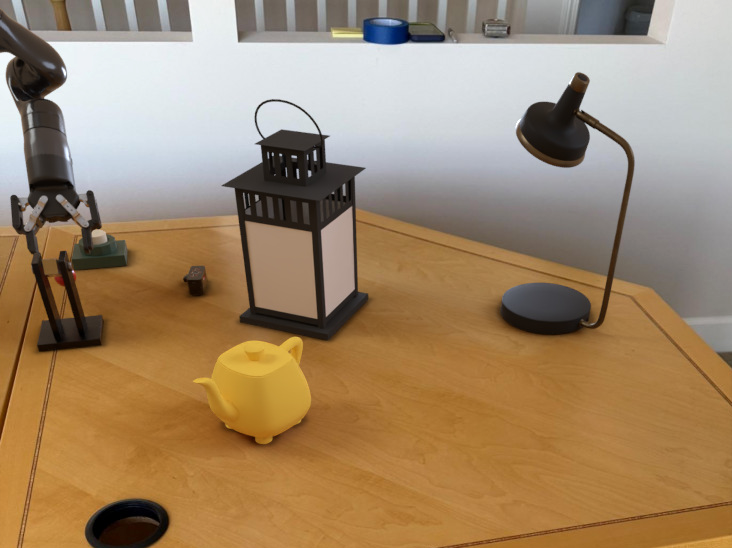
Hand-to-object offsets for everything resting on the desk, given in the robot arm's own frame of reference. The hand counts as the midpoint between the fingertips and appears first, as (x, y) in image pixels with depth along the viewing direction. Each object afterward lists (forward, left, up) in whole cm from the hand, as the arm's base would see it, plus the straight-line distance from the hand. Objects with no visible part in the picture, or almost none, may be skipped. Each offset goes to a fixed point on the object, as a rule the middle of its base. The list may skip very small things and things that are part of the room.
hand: (61, 253), depth 134 cm
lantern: (+41, -11, -10) cm, 43 cm away
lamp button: (+4, +20, -6) cm, 21 cm away
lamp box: (+4, +20, -10) cm, 23 cm away
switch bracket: (0, -12, -10) cm, 15 cm away
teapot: (+29, -46, -10) cm, 55 cm away
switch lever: (0, -8, -2) cm, 8 cm away
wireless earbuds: (+21, +3, -10) cm, 24 cm away
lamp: (+84, -23, -10) cm, 87 cm away
